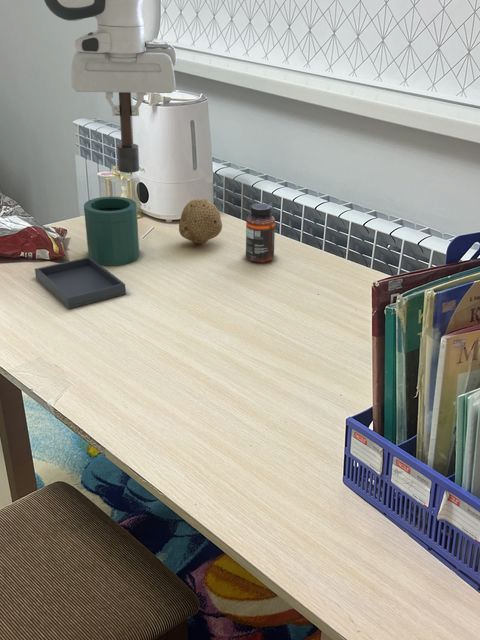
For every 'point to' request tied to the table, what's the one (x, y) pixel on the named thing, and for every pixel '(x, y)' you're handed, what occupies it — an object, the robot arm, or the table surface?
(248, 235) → the supplement bottle
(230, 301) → the table surface
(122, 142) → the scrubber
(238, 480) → the table surface
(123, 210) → the jar
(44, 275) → the tray
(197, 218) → the natural sponge
